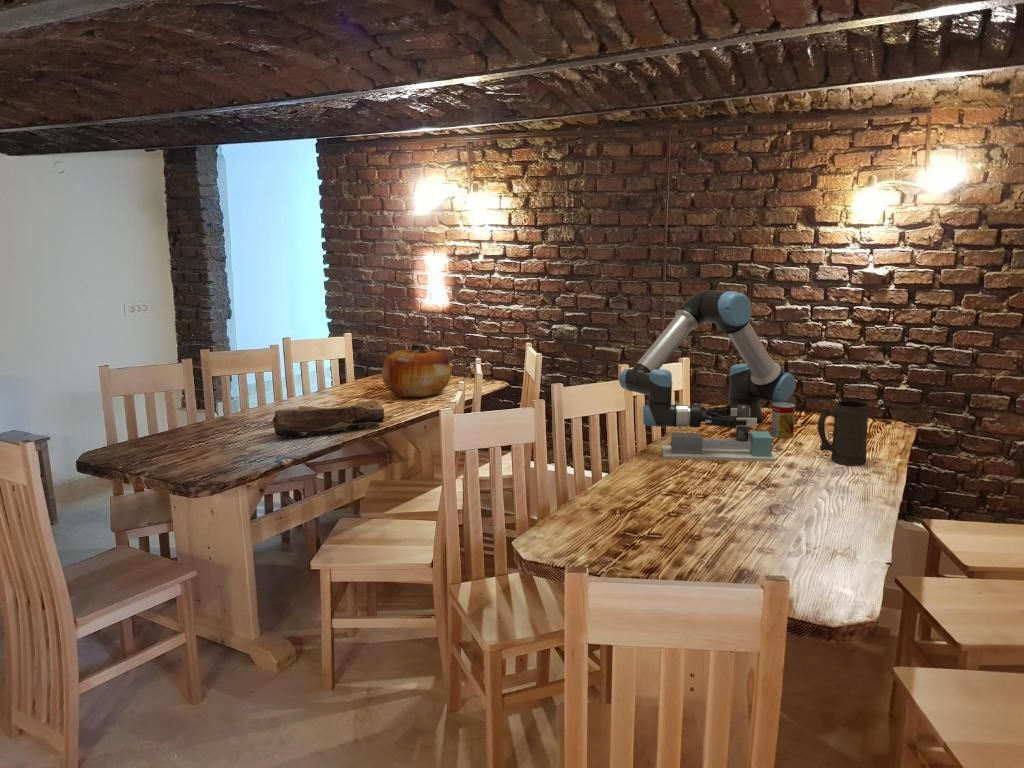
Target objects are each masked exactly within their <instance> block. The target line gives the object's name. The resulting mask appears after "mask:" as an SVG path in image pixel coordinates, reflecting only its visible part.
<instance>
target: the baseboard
mask: <svg viewBox="0 0 1024 768" xmlns="http://www.w3.org/2000/svg"><path fill="white" fill-rule="evenodd" d="M661 450H662V451H661V453H662V458H663V459H672V460H702V461H703V460H704V461H708V460H709V461H711V460H712V461H742V462H745V461H746V462H774V463H775V462H776V461H777V460H776V457H775V455H774V454H773V453H772V454H771V457H761V456H752V454H751V452H750V450H727V449H702V454H684V453H672V451H671V445H661Z"/></svg>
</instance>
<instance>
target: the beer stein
mask: <svg viewBox="0 0 1024 768" xmlns="http://www.w3.org/2000/svg"><path fill="white" fill-rule="evenodd" d="M869 407H870V406H869V404H868V403H866V402H863V401H858V400H842V401H837V403H836V405H835V408H834V409H830V408H828V407H822V408H821V413H820V415H819V418H818V420H817V433H818V435H819V439H820V440H821V444H820V446H819V449H820V451H821V452H823V451H829V452H830V453H831V456H830V460H831V461H832V462H833V463H836V464H837V465H841V466H842V465H843V466H847V467H858V466H859V467H860V466H864V465H866V463H867V454H868V453H867V452H868V451H867V444H868V443H867V440H868V417H869V416H868V415H869V412H870V408H869ZM828 417H833V418H834V422H833V433H832V442H831V443H829V442H828V439H827V435H826V431H825V423H826V419H827V418H828Z"/></svg>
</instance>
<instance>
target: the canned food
mask: <svg viewBox="0 0 1024 768" xmlns="http://www.w3.org/2000/svg"><path fill="white" fill-rule="evenodd" d="M771 407H772V409H771V427H770V435H771V437H772V438H775V439H781V440H782V439H783V440H790V439H793V438H794V430H795V415H796V414H795V413H796V404H794V403H791V402H787V401H786V402H776V403H775V402H773V403H772V406H771Z"/></svg>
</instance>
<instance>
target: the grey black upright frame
mask: <svg viewBox="0 0 1024 768" xmlns="http://www.w3.org/2000/svg"><path fill="white" fill-rule="evenodd" d="M749 414H750V406H749V405H744V404H741V405H737V418H749ZM749 430H750V427H749V426H736V429H735V431H736V432H735V433H736V435H735V438H723V437H722V438H719V437H718V438H717V437H716V438H715V437H714V438H712V437H702V449H727V450H752V442H753V440H752V439H750V438H749V436H750V431H749Z"/></svg>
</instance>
